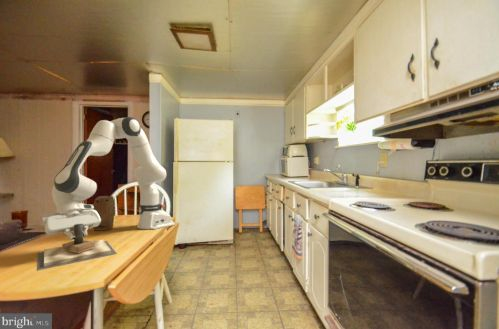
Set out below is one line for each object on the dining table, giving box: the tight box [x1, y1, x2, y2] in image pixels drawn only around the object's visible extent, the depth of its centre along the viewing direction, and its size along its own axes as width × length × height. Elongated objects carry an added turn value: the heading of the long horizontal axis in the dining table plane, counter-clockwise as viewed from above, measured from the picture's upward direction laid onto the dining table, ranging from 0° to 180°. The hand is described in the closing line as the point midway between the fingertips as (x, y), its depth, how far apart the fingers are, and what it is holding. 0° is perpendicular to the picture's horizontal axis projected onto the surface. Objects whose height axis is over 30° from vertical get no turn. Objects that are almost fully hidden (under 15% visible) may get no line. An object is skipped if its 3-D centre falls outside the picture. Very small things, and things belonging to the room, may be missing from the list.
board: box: [43, 239, 111, 267], centre depth 104 cm, size 22×19×2 cm
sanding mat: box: [36, 240, 118, 271], centre depth 104 cm, size 26×23×1 cm
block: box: [92, 195, 115, 231], centre depth 145 cm, size 11×8×20 cm
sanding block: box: [61, 224, 95, 253], centre depth 104 cm, size 10×7×10 cm
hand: (79, 237), depth 103 cm, fingers closed on sanding block, 3 cm apart
